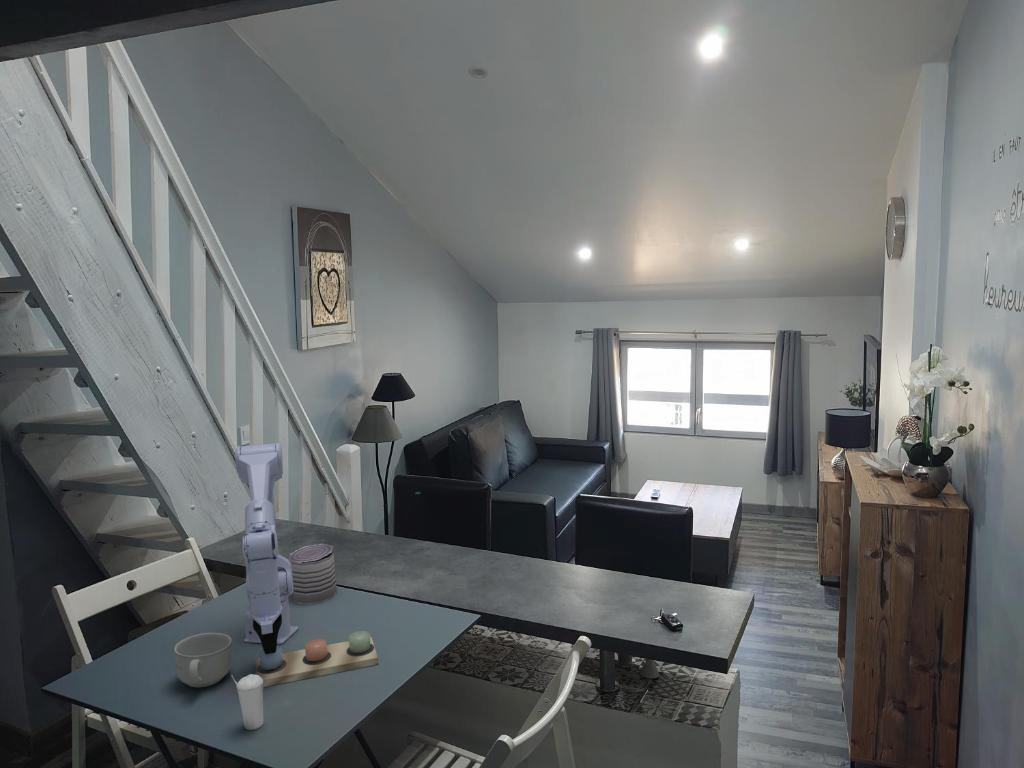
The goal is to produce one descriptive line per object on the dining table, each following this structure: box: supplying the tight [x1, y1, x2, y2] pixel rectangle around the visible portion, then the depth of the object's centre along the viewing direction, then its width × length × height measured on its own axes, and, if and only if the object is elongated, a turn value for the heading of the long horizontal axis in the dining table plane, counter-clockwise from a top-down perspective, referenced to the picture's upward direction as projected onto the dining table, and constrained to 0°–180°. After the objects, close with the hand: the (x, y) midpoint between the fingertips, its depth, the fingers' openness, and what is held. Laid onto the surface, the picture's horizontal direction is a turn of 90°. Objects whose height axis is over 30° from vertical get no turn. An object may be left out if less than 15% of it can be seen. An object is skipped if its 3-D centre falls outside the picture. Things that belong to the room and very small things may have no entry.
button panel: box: [255, 636, 379, 688], centre depth 156 cm, size 24×10×2 cm, turn 108°
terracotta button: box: [304, 638, 328, 661], centre depth 155 cm, size 4×4×3 cm
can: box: [287, 543, 338, 606], centre depth 191 cm, size 11×11×12 cm
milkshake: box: [230, 673, 264, 731], centre depth 134 cm, size 4×5×10 cm
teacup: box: [173, 632, 233, 688], centre depth 150 cm, size 14×11×8 cm
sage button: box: [348, 630, 371, 653], centre depth 158 cm, size 4×4×3 cm
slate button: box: [258, 646, 283, 670], centre depth 153 cm, size 4×4×3 cm
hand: (270, 652), depth 153 cm, fingers closed, pressing on slate button
